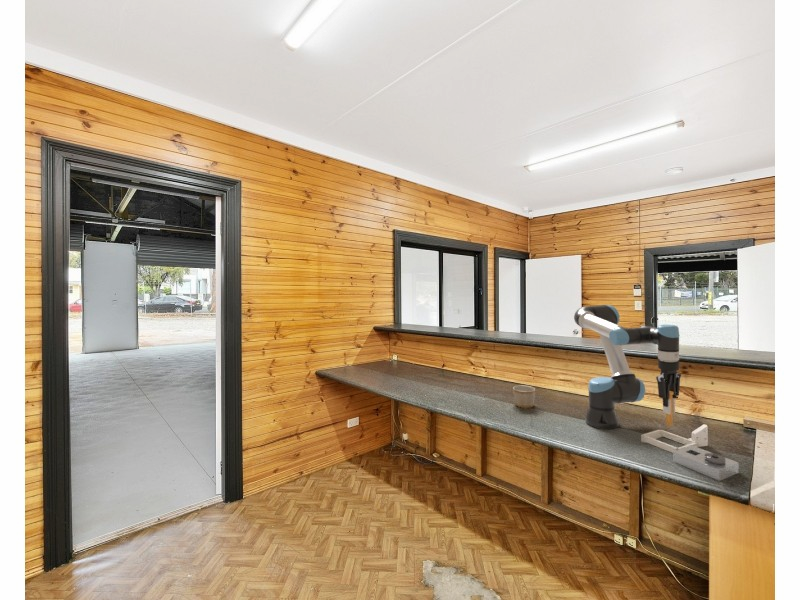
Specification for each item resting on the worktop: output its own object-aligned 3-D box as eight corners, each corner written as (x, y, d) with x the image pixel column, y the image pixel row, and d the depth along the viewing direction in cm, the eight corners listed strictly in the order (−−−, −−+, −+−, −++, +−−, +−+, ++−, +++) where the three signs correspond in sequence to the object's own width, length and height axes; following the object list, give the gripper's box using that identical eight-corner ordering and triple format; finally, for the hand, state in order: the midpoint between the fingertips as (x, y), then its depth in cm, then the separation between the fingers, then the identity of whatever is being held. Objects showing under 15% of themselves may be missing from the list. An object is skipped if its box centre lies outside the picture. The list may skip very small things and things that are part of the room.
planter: (513, 408, 218) (512, 391, 217) (513, 401, 230) (513, 384, 229) (535, 409, 214) (535, 392, 213) (535, 402, 226) (534, 385, 225)
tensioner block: (672, 463, 149) (672, 445, 149) (691, 456, 154) (691, 439, 153) (719, 483, 134) (719, 463, 134) (738, 475, 139) (738, 455, 138)
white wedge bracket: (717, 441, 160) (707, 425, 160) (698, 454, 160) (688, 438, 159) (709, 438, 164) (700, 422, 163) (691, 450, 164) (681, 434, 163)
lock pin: (663, 424, 163) (662, 391, 163) (667, 422, 165) (667, 389, 164) (670, 426, 160) (670, 393, 160) (675, 425, 162) (675, 391, 161)
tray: (641, 442, 169) (641, 434, 168) (660, 436, 173) (660, 429, 173) (678, 457, 154) (678, 449, 153) (698, 450, 158) (698, 442, 158)
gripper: (665, 364, 155) (666, 418, 156) (689, 359, 160) (689, 412, 162) (648, 360, 162) (648, 413, 163) (671, 356, 167) (671, 407, 169)
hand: (669, 412), depth 162 cm, fingers closed on lock pin, 2 cm apart
